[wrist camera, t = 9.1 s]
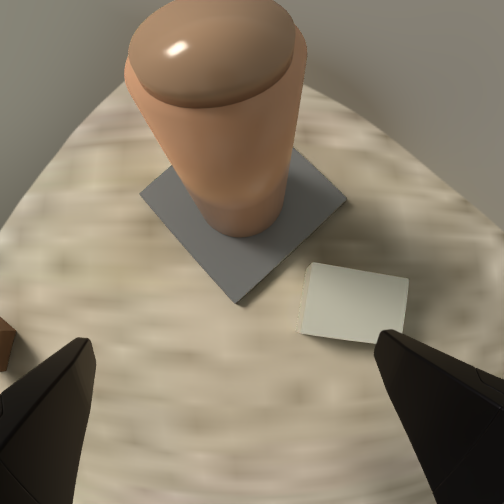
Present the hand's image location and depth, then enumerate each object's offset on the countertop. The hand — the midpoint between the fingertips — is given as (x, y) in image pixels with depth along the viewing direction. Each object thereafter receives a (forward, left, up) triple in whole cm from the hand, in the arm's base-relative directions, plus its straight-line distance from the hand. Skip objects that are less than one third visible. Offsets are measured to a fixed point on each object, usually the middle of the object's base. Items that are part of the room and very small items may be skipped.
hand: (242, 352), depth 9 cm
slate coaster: (+7, -5, -11) cm, 14 cm away
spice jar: (+7, -5, -10) cm, 14 cm away
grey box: (-3, -5, -11) cm, 13 cm away
